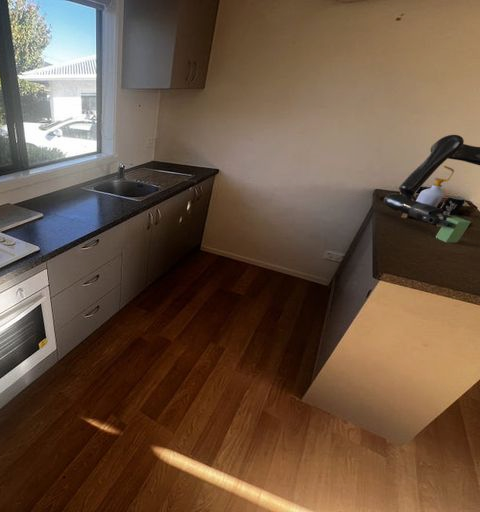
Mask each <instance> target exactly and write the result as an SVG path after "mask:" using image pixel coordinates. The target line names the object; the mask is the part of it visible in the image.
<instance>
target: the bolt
mask: <svg viewBox="0 0 480 512" xmlns="http://www.w3.org/2000/svg"><path fill="white" fill-rule="evenodd" d="M475 208H476V205H475V204H470V205H469V206H468V205H462V207H461V208H460V210H459V211H458V212H460V213H461V212H462V213H465V215H466V216H470V215H471V214H472V213H473V211H474V210H475Z"/></svg>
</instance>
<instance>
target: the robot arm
mask: <svg viewBox="0 0 480 512" xmlns="http://www.w3.org/2000/svg"><path fill="white" fill-rule="evenodd" d="M448 159H449V160H454V161H455V160H456V161H461V162H464V163H469V164H472V165H475V166H480V146H475V145H469V144H466V143H465V140H464V137H462V136H461V135H458V134H448V135H445V136H443V137H441V138H439V139H438V140H437V141H436V142H434V143H433V144H432V145H431V147H430V153H429V155H428V156H427V157H426V159H425V160H424V161H423V162H422V163H421V164H420V165H419V166H417V168H415V169H414V170H413V171H412V172H411V174H410V175H408V176H407V177H406V179H405V180H404V181H403V182H402V183H401V184H400V186H399V187H398V190H399V191H400V194H399V193H389V194H387V195H386V196H385V197H384V198H383V204H384V206H387V207H388V208H390V209H391V210H393V211H400V212H401V213H402V214H403V213H405V214H408V215H410V217H413V218H414V219H417V220H419V221H421V222H425V223H427V224H431V225H437V224H438V225H443V226H446V227H452V225H453V223H452V222H449V221H446V219H447V218H461V219H464V220H467V221H468V219H467V218H466V217H463V216H459V215H457V214H456V215H452V216H451V215H449V214H444V213H443V210H442V209H440V208H438V207H434V206H431V205H428V204H424V203H421V202H418V201H416V200H413V198H414V196H415V194H416V193H417V191H418V190H419V189H420V188H421V187H422V186H423V185H424V184H425V183H426V182H427V180H429V179H430V177H431V176H432V175H433V174H434V173H435V171H436V170H438V168H439V167H440V166H441V165H443V163H444V162H446V161H447V160H448ZM472 226H473V222H471V223H470V224H469V226H468V227H467V229H471V227H472Z"/></svg>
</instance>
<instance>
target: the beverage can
mask: <svg viewBox="0 0 480 512" xmlns="http://www.w3.org/2000/svg"><path fill="white" fill-rule="evenodd" d="M465 201H466V198H465V197H462V196H457V195H449V196H448V197H446V198H445V200H444V201H443V202H442V203H443V204H442V206H441V207H440V209H442V210H443V213H444V214H449V215H451V216H452V215H456V216H457V214H458V213H459V212H460V211H459V210H460V208H461V207H462V206H464V203H465Z"/></svg>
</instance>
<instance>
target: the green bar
mask: <svg viewBox="0 0 480 512" xmlns="http://www.w3.org/2000/svg"><path fill="white" fill-rule="evenodd" d="M446 221H449V222H452V223H453V225H452V227H446V226H442V227H440V228H439V230H438V232H437V233H436V235H435V237H436V238H435V239H437V238H438V239H437V240H439V241H442V242H444V243H458V242H459V241H460V239H461V238H462V236H463V235H464V233H465V232H466V230H467V229H468V228H467V227H468V226H469V224H470V223H472V222H471V221H469V220H468V219H467V220H464V219H461V218H447V219H446Z"/></svg>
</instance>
